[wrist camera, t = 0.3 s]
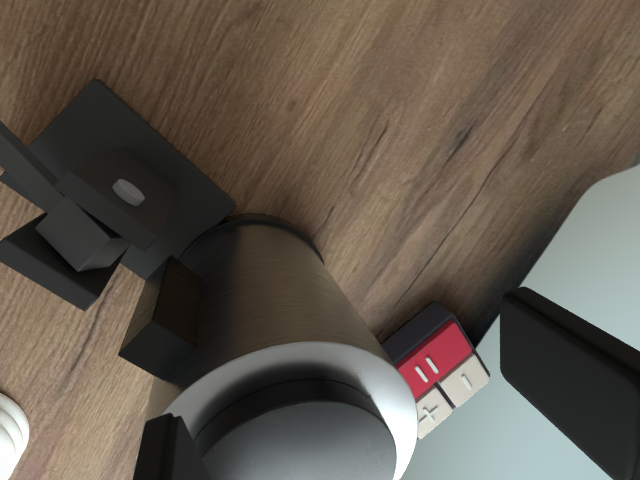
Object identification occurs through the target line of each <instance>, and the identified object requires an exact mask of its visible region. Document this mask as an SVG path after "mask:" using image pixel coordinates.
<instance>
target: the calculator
mask: <svg viewBox="0 0 640 480" xmlns="http://www.w3.org/2000/svg"><path fill="white" fill-rule="evenodd" d="M381 346H382V348H383V349H384V350H385V352H386V353H387V355H388V356H389V358H390V359H391V360H392V362H393V363H394V365H395V366H396V367H397V369H398V370H399V372H400V373H401V374H402V376H403V377H404V379H405V380H406V382H407V383H408V385H409V386H410V388H411V391H412V393H413V395H414V398H415V402H416V406H417V410H418V433H417V439H422V438H423V437H424V436H425V435H427V434H428V433H429V432H430V431H431V430H433V429H434V428H435V427H436V426H437V425H438V424H439V423H440V422H442V421H443V420H444V419H445V418H447V417H448V416H449V415H450V414H451V413H452V412H453V410H452V409H453V408H455V407H459V406H461V405H462V404H463V403H464V402H465V401H466V400H468V399H469V398H470V397H471V396H472V395H473V394H475V393H476V392H477V391H478V390H479V389H480V388H481V387H483V386H484V385H485V384H486V383H487V382H488V381H489V377H490V373H489V371H488V370H487V368H486V366H485V365H484V363H483V361H482V360H481V358H480V356H479V355H478V353H477V351H476V350H475V348H474V346H473V345H472V343H471V341H470V340H469V338H468V337H467V335H466V333H465V332H464V330H463V328H462V327H461V325H460V323H459V322H458V320H457V318H456V317H455V315H454V314H453V313H452V312H450V311H449V310H448V309H446V308H445V307H444V306H442V305H441V304H440V303H438V302H437V301H434V302H432V303H431V304H430V305H428V306H427V307H426V308H425V309H424V310H422V311H421V312H420V313H419V314H418V315H416V316H415V317H414V318H413V319H412V320H410V321H409V322H408V323H407V324H406V325H404V326H403V327H402V328H401V329H400V330H398V331H397V332H396V333H395V334H393V335H392V336H391V337H390V338H389V339H387V340H386V341H385V342H384V343H383V344H381ZM417 439H416V440H417Z"/></svg>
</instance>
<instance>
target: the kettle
mask: <svg viewBox="0 0 640 480" xmlns="http://www.w3.org/2000/svg"><path fill="white" fill-rule="evenodd" d="M118 356H120V357H122V358H124V359H125V360H127V361H129V362H131V363H132V364H134V365H136V366H138V367H140V368H141V369H143V370H145V371H147V372H148V373H150V374H152V375H154V379H153V383H152V388H151V393H150V397H149V402H148V406H147V411H146V416H145V420H144V425H145V423H146V421H147V420H150V419H153V418H156V417H159V416H161V415H164V414H167V413H172V414H173V415H174V417H177V416H181V417H182V418H183V420H184V422H185V424H186V427H187V429H188V431H189V433H190V435H191V437H192V439H193V441H194V443H195V445H196V447H197V450H198V452H199V454H200V456H201V458H202V460H203V462H204V464H205V466H206V468H207V471H208V473H209V475H210V477H211V479H212V480H399V479H400V478H401V476H402V475H403V473H404V471H405V469H406V467H407V465H408V463H409V461H410V459H411V456H412V453H413V451H414V447H415V443H416V439H417V433H418V410H417V406H416V402H415V398H414V395H413V393H412V391H411V388H410V386H409V385H408V383H407V382H406V380H405V379H404V377H403V376H402V374H401V373H400V372H399V370H398V369H397V367H396V366H395V365H394V363H393V362H392V360H391V359H390V358H389V356H388V355H387V353H386V352H385V350H384V349H383V348H382V346H381V345H380V343H379V342H378V341H377V339H376V338H375V336H374V335H373V334H372V332H371V331H370V329H369V328H368V327H367V325H366V324H365V322H364V321H363V319H362V318H361V317H360V315H359V314H358V312H357V311H356V310H355V308H354V307H353V305H352V304H351V303H350V301H349V300H348V298H347V297H346V296H345V294H344V293H343V291H342V290H341V288H340V287H339V286H338V284H337V283H336V281H335V280H334V279H333V277H332V276H331V274H330V273H329V272H328V270H327V269H326V267H325V265H324V262H323V259H322V257H321V255H320V253H319V252H318V250H317V249H316V247H315V246H314V244H313V243H312V242H311V240H310V239H309V238H308V237H307V236H306V235H305V234H304V233H303V232H302V231H301V230H300V229H298V228H297V227H296V226H294V225H293V224H291V223H289V222H287V221H285V220H283V219H280V218H277V217H274V216H271V215H264V214H239V215H234V216H230V217H226V218H224V219H223V220H222V221H221V222H220V223H219V224H218V225H216V226H214V227H212V228H210V229H208V230H207V231H205V232H204V233H203V234H201V235H200V236H198V237H197V238H196V239H195V240H194V241H193V242H192V243H190V245H189V246H188V247H187V248H186V249H185V250H184V252H183V253H182V255H181V256H180V258H179V259H178V260H177V259H176V258H174V257H173V256H172V255H170V256H169V257H168V258H167V259H166V260H165V261H164V262H163V263H162V264H161V265H160V266H159V267H158V268H157V269H156V270H155V271H154V272H153V273H152V274H151V275H150V276H149V277H148V278H147V280H146V282H145V285H144V287H143V290H142V293H141V295H140V298H139V301H138V303H137V306H136V308H135V311H134V314H133V316H132V319H131V322H130V324H129V327H128V329H127V332H126V335H125V337H124V340H123V342H122V345H121V348H120V350H119V353H118ZM144 425H143V430H144ZM143 430H142V434H143ZM142 434H141V439H142ZM141 439H140V443H141ZM140 443H139V448H140ZM139 448H138V453H139ZM138 453H137V457H138ZM137 457H136V462H137ZM136 462H135V467H136ZM135 467H134V471H135Z"/></svg>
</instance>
